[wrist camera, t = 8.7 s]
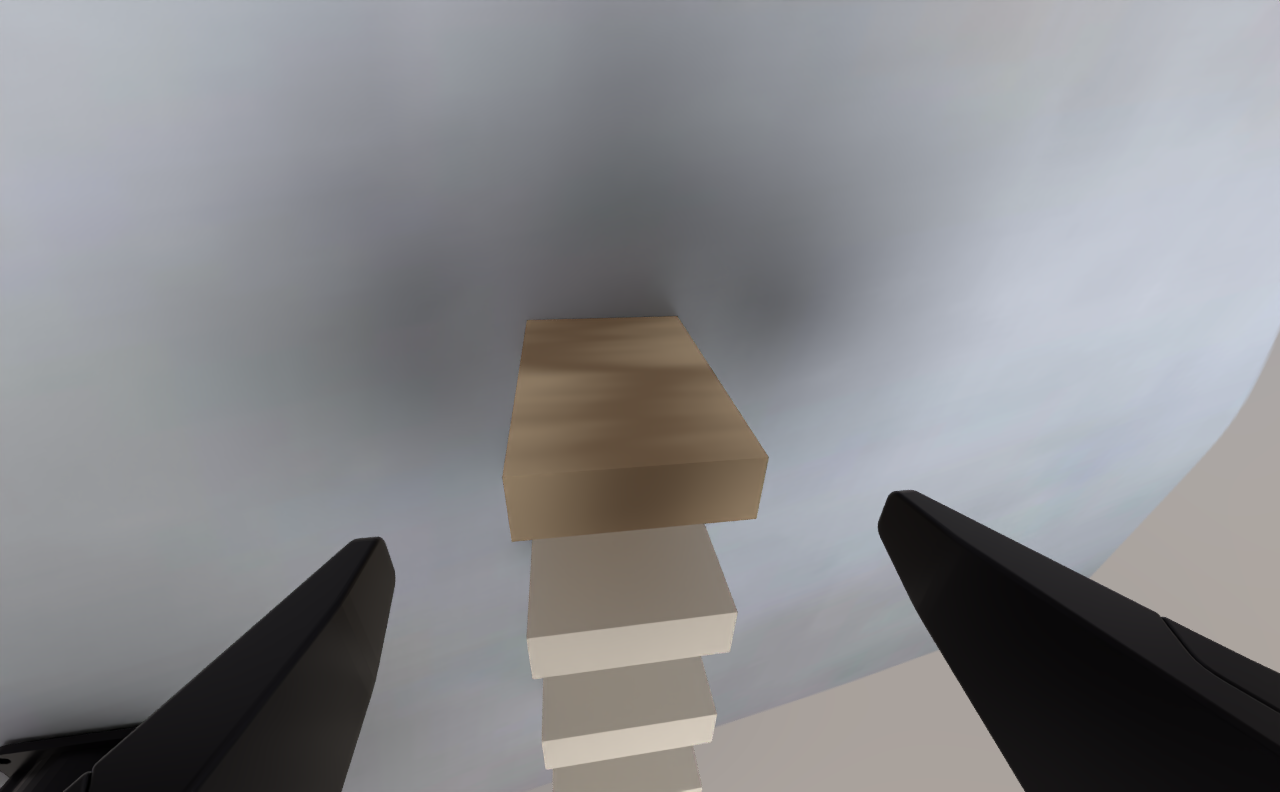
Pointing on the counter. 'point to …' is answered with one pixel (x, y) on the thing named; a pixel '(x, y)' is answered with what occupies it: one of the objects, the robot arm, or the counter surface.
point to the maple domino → (623, 433)
